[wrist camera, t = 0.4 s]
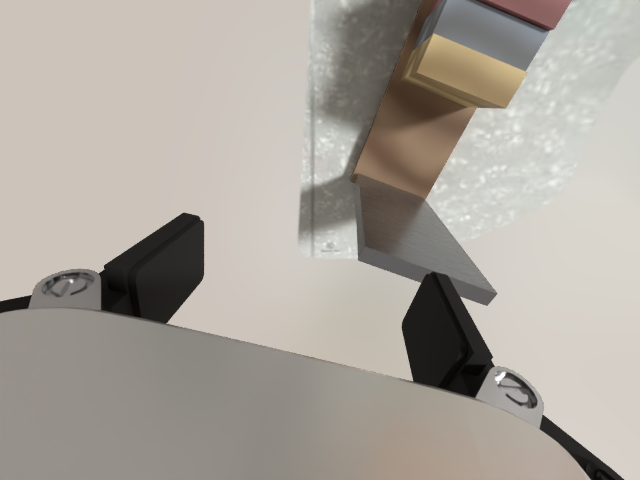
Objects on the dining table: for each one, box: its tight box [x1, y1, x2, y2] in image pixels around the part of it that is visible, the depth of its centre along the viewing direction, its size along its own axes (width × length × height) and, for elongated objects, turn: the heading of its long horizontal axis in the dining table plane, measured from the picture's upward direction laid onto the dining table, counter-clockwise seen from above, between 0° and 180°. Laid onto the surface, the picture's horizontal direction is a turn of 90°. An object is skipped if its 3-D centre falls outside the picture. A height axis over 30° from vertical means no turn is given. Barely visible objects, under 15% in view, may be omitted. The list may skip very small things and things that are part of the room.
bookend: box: [355, 173, 497, 306], centre depth 28 cm, size 1×10×22 cm, turn 71°
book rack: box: [350, 0, 572, 199], centre depth 30 cm, size 24×11×10 cm, turn 161°
